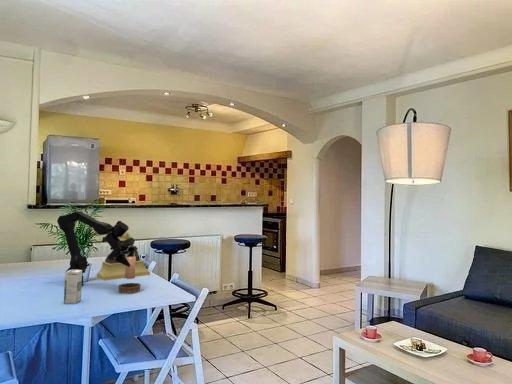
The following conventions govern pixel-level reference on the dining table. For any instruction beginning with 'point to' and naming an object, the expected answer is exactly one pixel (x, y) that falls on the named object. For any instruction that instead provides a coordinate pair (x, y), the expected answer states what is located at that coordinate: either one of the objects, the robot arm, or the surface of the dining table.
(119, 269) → the decorative clock
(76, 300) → the syrup box
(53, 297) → the dining table surface
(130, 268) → the terracotta canister
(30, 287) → the dining table surface
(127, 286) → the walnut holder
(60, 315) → the dining table surface
